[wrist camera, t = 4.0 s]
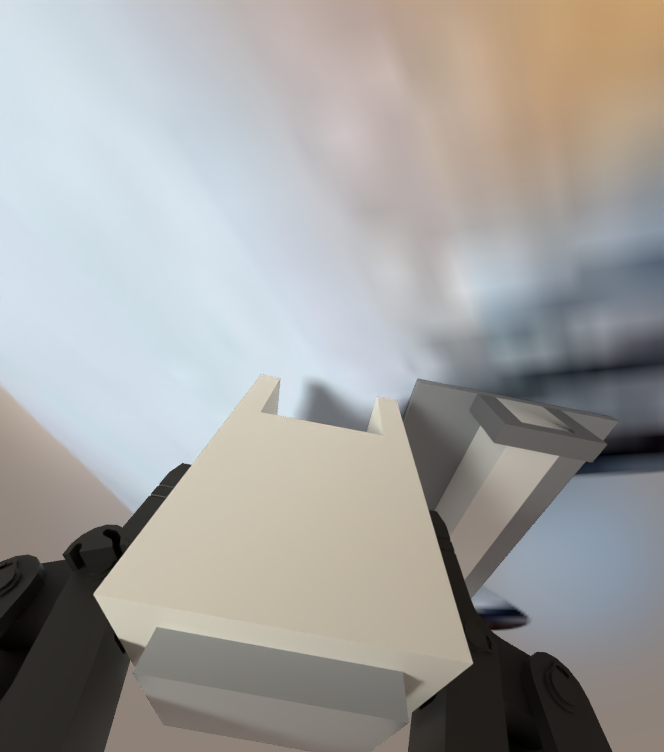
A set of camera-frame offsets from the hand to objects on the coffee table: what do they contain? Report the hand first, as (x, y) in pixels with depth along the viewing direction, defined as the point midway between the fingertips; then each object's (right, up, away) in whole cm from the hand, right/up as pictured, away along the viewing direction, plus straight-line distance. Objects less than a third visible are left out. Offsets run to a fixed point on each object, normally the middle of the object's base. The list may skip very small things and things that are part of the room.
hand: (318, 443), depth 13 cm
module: (0, 0, +1) cm, 1 cm away
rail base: (+10, -8, +7) cm, 15 cm away
